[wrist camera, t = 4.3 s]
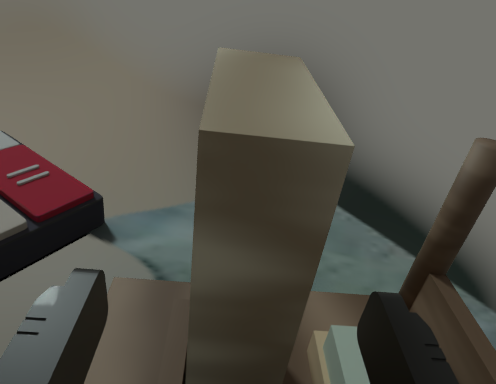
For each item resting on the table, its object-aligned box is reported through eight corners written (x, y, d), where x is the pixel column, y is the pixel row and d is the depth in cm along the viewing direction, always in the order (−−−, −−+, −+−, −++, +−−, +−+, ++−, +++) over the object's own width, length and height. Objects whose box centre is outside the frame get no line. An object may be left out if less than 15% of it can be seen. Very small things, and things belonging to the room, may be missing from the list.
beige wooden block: (178, 518, 14) (199, 129, 5) (194, 370, 19) (218, 47, 11) (240, 520, 14) (354, 146, 6) (240, 372, 19) (300, 57, 11)
